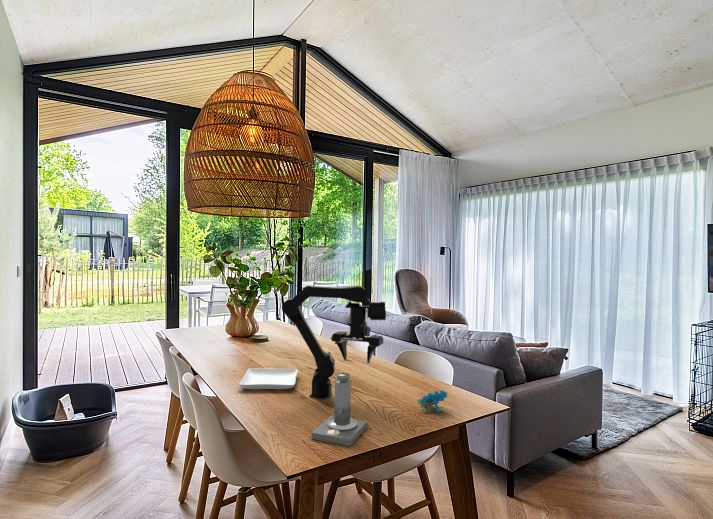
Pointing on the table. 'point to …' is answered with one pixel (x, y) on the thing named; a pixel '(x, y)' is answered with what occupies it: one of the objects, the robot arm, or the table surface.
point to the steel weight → (342, 399)
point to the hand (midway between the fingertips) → (356, 361)
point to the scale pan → (342, 428)
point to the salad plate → (269, 378)
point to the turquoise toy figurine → (432, 400)
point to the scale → (338, 433)
